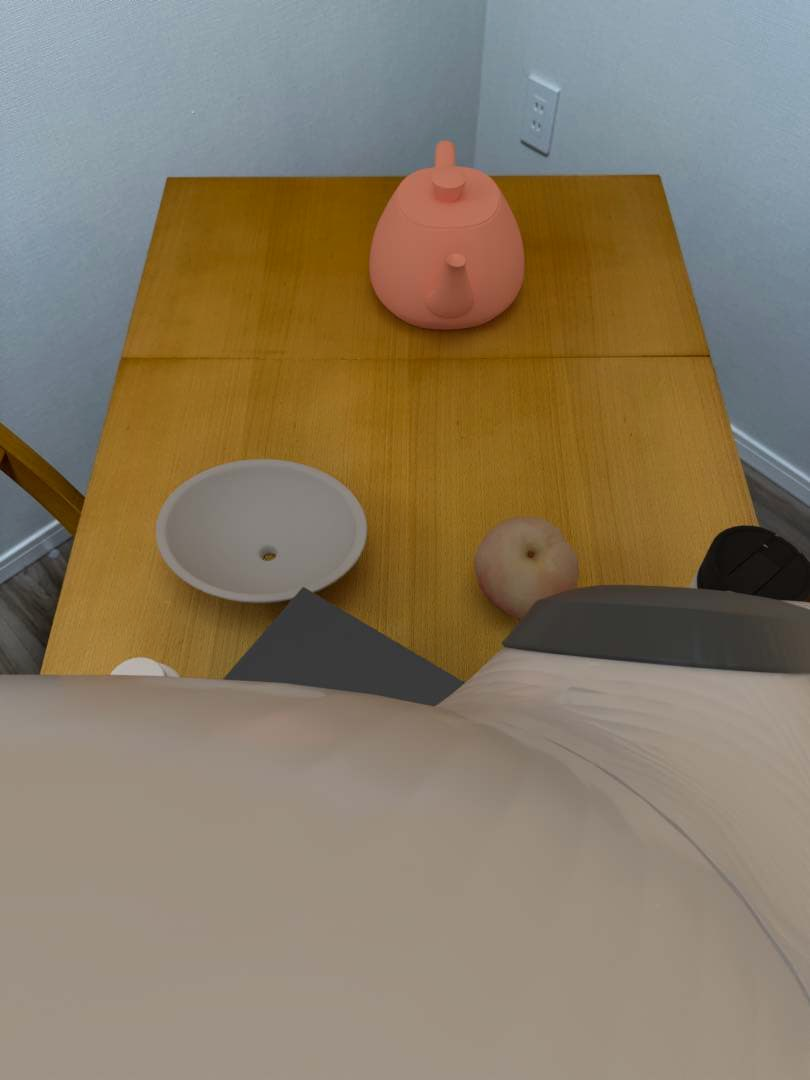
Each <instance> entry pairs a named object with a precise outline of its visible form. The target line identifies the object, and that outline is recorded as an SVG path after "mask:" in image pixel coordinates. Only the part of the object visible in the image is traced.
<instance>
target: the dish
mask: <svg viewBox="0 0 810 1080" xmlns="http://www.w3.org/2000/svg"><path fill="white" fill-rule="evenodd" d="M367 537H368V522H367V517H366V514H365V512H364V509H363V506H362V505H361V503H360V502H359V500H358V499H357V497H356V496H355V494H354V493H352V491H351V490H350V489H349V488H348V487H347V486H346V485H344V484H343V483H342V482H341V481H339V480H338V479H337V478H335V477H333V476H332V475H330V474H329V473H326V472H325V471H323V470H320V469H317V468H315V467H312V466H309V465H307V464H303V463H300V462H296V461H290V460H283V459H275V458H272V459H271V458H251V459H243V460H235V461H231V462H226V463H222V464H220V465H216V466H213V467H211V468H207V469H206V470H203V471H201V472H198V473H197V474H195V475H193V476H192V477H190V478H189V479H187V480H185V481H184V482H183V483H181V484H180V485H179V486H178V487H176V489H175V490H173V492H171V494H170V495H169V496H168V497H167V498H166V500H165V502H164V503H163V505H162V506H161V509H160V511H159V513H158V516H157V518H156V523H155V540H156V546H157V548H158V551H159V553H160V555H161V557H162V559H163V561H164V562H165V563H166V565H167V566H168V568H169V569H170V570H171V571H172V572H173V573H174V574H175V575H176V576H177V577H179V578H180V579H181V580H182V581H184V582H185V583H187V584H188V585H190V586H191V587H192V588H194V589H197V590H198V591H200V592H203V593H204V594H208V595H211V596H213V597H217V598H219V599H223V600H227V601H232V602H239V603H249V604H270V603H281V602H288V601H291V600H292V599H293V598H294V597H295V595H296V594H297V593H298V592H299V591H300V590H301V589H302V587H305V588H306V589H308V590H310V591H311V592H313V593H315V594H316V593H318V592H320V591H322V590H324V589H327V588H328V587H329V586H331V585H333V584H334V583H336V582H337V581H339V580H341V578H343V577H344V576H345V575H346V574H348V572H349V571H350V570H351V569H353V567H354V566H355V565H356V563H357V562H358V560H359V559H360V557H361V556H362V553H363V551H364V548H365V545H366V543H367ZM268 554H272V555H274V556H275V557H274V558H272V559H270V560H266V559H264V558H265V556H267V555H268Z"/></svg>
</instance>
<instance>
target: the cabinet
mask: <svg viewBox="0 0 810 1080" xmlns="http://www.w3.org/2000/svg"><path fill="white" fill-rule="evenodd" d="M222 680H239V681H256V682H273V683H287V684H295V685H302V686H310V687H318V688H326V689H334V690H341V691H349V692H357V693H365V694H372V695H378V696H383V697H389V698H394V699H399V700H404V701H409V702H414V703H419V704H424V705H429V706H436V705H438V704H439V703H440V702H442V701H443V700H445V699H446V698H447V697H449V696H450V695H451V694H453V693H454V692H455V691H456V690H457V689H459V688H460V687H461V686H462V685H463V684H464V683H465V682H466V681H464V680H461V679H459V678H458V677H456V676H455V675H454V674H452V673H450V672H448V671H446V670H445V669H443V668H441V667H439V666H438V665H436V664H434V663H432V662H431V661H429V660H428V659H426V658H424V657H422V656H421V655H419V654H418V653H416V652H414V651H412V650H411V649H409V648H407V647H406V646H404V645H403V644H401V643H400V642H398V641H395V640H394V639H392V638H391V637H389V636H387V635H386V634H384V633H382V632H380V631H378V629H375V628H374V627H372V626H370V625H369V624H368V623H365V622H364V621H362V620H361V619H359V618H357V617H355V616H354V615H352V614H351V613H349V612H347V611H345V610H343V609H341V608H340V607H339V606H337V605H335V604H333V603H331V602H330V601H328V600H327V599H325V598H323V597H321V596H320V595H318V594H316V592H315V593H313V592H311V591H310V590H308V589H306V588H305V587H302V589H301V590H300V591H299V592H298V593H297V594H296V595H295V597H294V598H293V599H292V600H289V602H288V603H287V605H286V606H284V608H283V609H282V610H281V611H280V612H279V614H278V615H277V616H276V618H274V619H273V621H272V622H271V623H270V624H269V625H268V626H267V628H266V629H265V630H264V631H263V632H262V633H261V635H260V636H259V637H258V638H257V639H256V640H255V642H254V643H252V645H251V646H250V647H249V649H247V650H246V652H245V653H244V654H243V655H242V657H241V658H240V659H238V661H237V662H236V663H235V665H234V666H233V667H232V668H231V669H230V670H229V671H228V673H227V674H226V675H225V676H224V677H223V679H222Z"/></svg>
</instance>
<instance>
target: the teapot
mask: <svg viewBox="0 0 810 1080" xmlns="http://www.w3.org/2000/svg"><path fill="white" fill-rule="evenodd" d="M520 231H521V230H520V228H519V224H518V222H517V219H516V218H515V215H514V212H513V211H512V209H511V207H510V205H509V203H508V201H507V200H506V198H505V196H504V194H503V192H502V191H501V189H500V187H499V186H498V185H497V183H496V182H495V181H494V179H493V178H492V177H490V176H489V175H488V174H486V173H485V172H482V171H481V170H478V169H477V168H472V167H466V166H456V147H455V144H454V143H453V142H452V141H450V140H441V141H439V142H438V143H437V144H436V145H435V151H434V167H433V166H432V167H427V168H422V169H419V170H416V171H414V172H412V173H410V174H409V175H407V176H406V177H404V179H403V180H402V181H401V182H400V184H399V185H398V186H397V188H396V189H395V191H394V192H393V194H392V195H391V197H390V199H389V201H388V202H387V204H386V206H385V207H384V209H383V212H382V213H381V216H380V218H379V220H378V222H377V224H376V228H375V230H374V233H373V237H372V241H371V246H370V252H369V253H370V254H369V261H368V263H369V267H368V268H369V278H370V283H371V285H372V288H373V290H374V292H375V294H376V297H377V298H378V299H379V301H380V302H381V303H382V305H383V306H385V308H386V309H387V310H388V311H389V312H391V313H392V314H393V315H395V316H396V317H397V318H399V319H400V320H401V321H403V322H405V323H407V324H409V325H411V326H414V327H418V328H421V329H422V328H423V329H428V330H443V331H444V330H461V329H469V328H475V327H478V326H481V325H484V324H486V323H488V322H491V321H492V320H494V319H495V318H496V317H498V316H500V315H501V314H502V313H504V311H506V309H508V308H509V307H510V306H511V305H512V304H513V302H514V301H515V300H516V298H517V296H518V295H519V292H520V291H521V288H522V285H523V282H524V276H525V250H524V244H523V243H524V242H523V240H522V235H521V232H520Z"/></svg>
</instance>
